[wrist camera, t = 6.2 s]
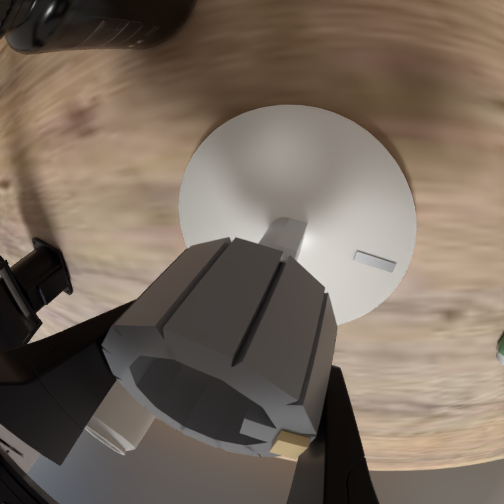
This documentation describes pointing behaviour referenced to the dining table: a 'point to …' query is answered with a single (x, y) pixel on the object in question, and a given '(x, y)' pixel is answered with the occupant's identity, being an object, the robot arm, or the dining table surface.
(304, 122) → the shaft hub
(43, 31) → the supplement bottle
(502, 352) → the dish towel
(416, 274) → the dining table surface
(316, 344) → the grey segmented ring
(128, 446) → the can
